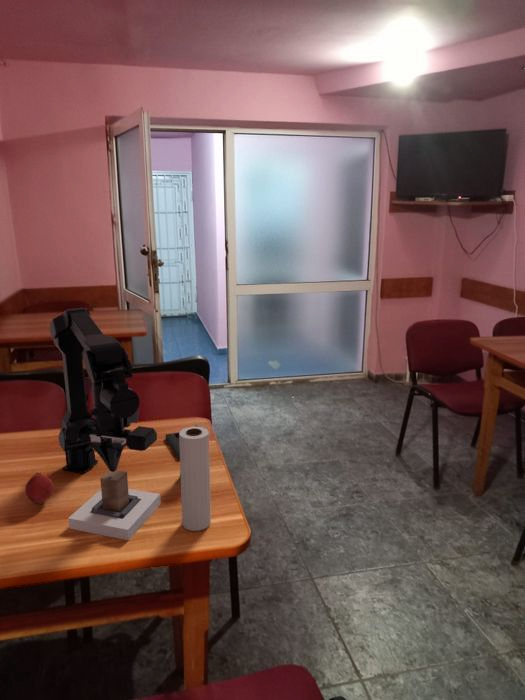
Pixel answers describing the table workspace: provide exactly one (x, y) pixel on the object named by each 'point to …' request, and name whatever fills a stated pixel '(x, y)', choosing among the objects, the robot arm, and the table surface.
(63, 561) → the table surface
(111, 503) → the walnut peg
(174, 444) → the vhs tape
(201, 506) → the paper towel roll
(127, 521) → the collar block
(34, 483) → the onion
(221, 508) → the table surface
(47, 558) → the table surface
